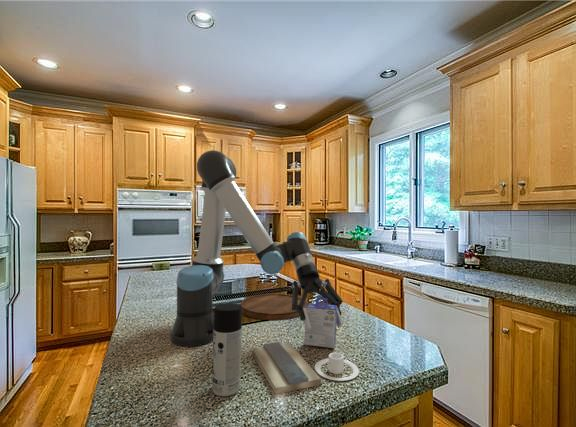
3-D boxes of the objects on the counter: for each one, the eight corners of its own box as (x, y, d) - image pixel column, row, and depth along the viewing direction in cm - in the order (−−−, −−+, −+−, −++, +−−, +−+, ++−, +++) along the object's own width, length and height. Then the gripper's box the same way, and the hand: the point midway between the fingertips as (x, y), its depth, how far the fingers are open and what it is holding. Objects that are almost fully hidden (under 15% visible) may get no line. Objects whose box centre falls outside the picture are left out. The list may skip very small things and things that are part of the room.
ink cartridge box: (336, 341, 100) (337, 297, 100) (335, 349, 95) (336, 302, 95) (306, 338, 102) (307, 295, 102) (304, 345, 97) (305, 299, 97)
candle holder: (338, 356, 92) (338, 342, 92) (368, 375, 82) (368, 359, 82) (305, 367, 85) (306, 351, 85) (334, 388, 75) (334, 371, 75)
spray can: (214, 381, 76) (215, 302, 76) (241, 381, 77) (242, 302, 77) (209, 398, 70) (211, 311, 70) (239, 397, 70) (241, 311, 70)
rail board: (275, 394, 72) (275, 384, 72) (252, 353, 92) (252, 345, 92) (321, 384, 76) (321, 375, 76) (288, 347, 96) (289, 340, 96)
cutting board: (321, 305, 142) (321, 300, 142) (284, 327, 115) (284, 320, 115) (266, 294, 159) (266, 289, 159) (222, 311, 132) (222, 305, 132)
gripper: (278, 264, 103) (294, 326, 89) (337, 262, 112) (361, 318, 97) (273, 276, 108) (287, 337, 94) (330, 273, 117) (351, 328, 102)
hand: (325, 327), depth 96 cm, fingers closed on ink cartridge box, 11 cm apart
